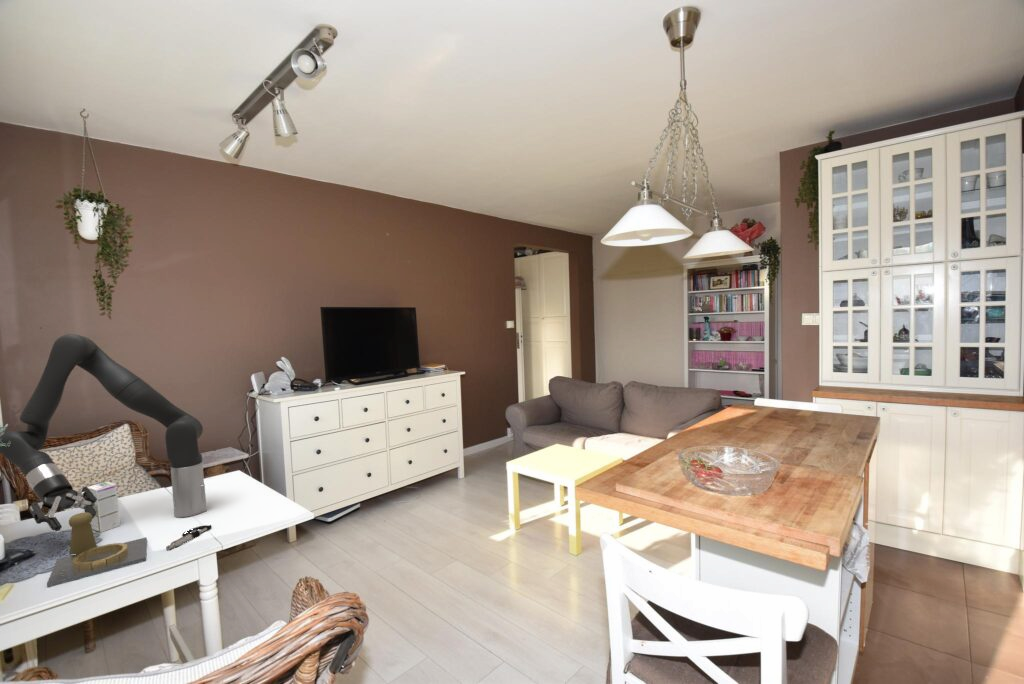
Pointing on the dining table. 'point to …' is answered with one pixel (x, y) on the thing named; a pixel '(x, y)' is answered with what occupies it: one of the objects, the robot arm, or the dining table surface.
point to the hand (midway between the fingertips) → (76, 523)
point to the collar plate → (98, 561)
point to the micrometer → (188, 536)
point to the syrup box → (105, 507)
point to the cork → (81, 533)
